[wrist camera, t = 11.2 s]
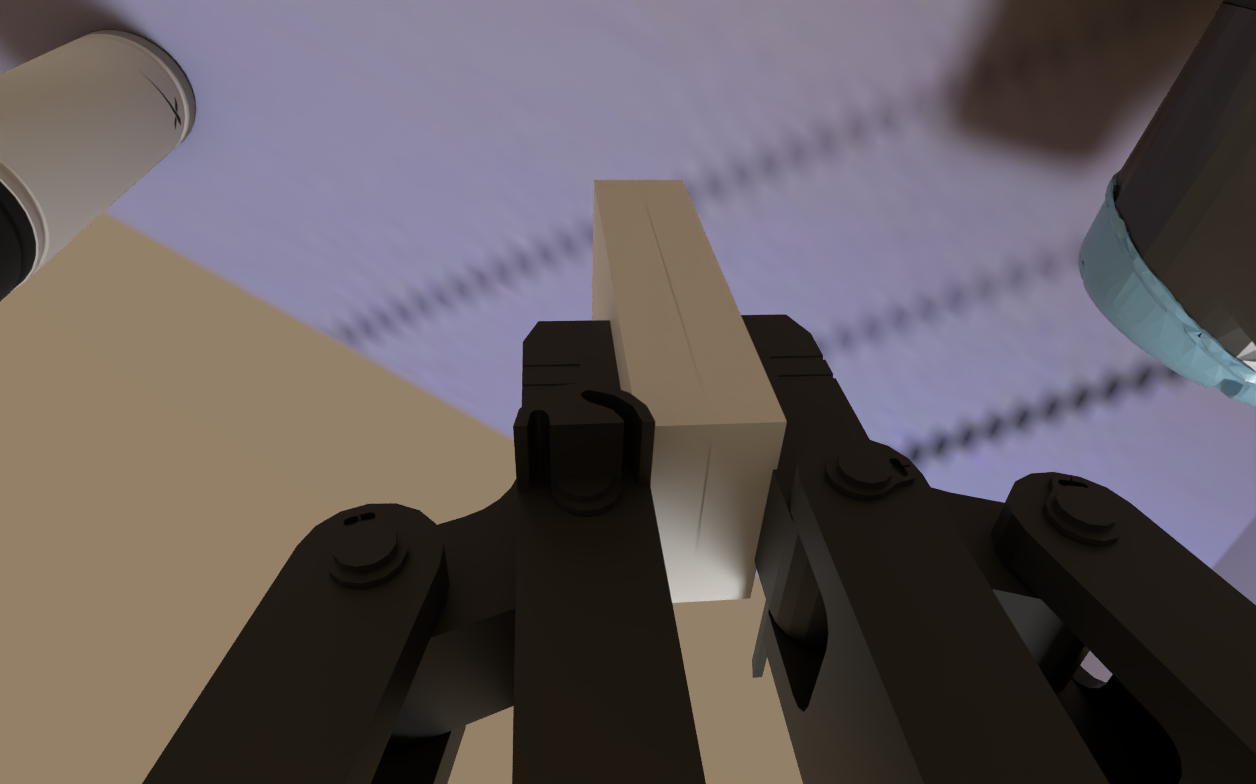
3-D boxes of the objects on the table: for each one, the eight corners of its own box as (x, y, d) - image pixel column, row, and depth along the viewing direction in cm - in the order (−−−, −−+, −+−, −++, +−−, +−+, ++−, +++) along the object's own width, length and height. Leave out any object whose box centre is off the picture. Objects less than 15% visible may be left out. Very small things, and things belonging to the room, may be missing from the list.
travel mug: (220, 79, 41) (18, 240, 25) (168, 173, 43) (-45, 374, 27) (95, -6, 38) (-226, 115, 22) (48, 100, 40) (-270, 277, 24)
